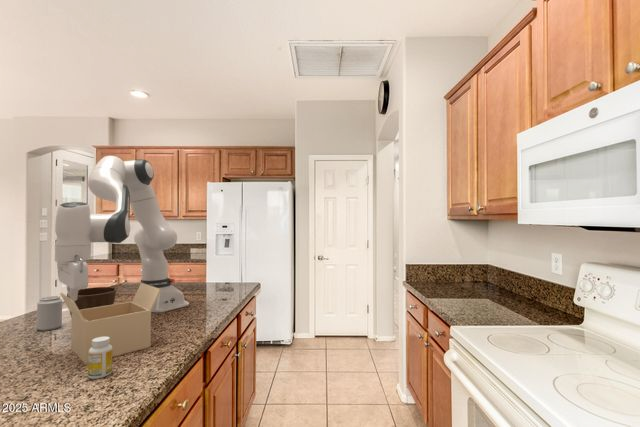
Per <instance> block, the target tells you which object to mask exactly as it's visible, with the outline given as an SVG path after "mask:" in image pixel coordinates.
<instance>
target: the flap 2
mask: <svg viewBox="0 0 640 427" xmlns="http://www.w3.org/2000/svg"><path fill="white" fill-rule="evenodd" d="M140 283H141V282H140ZM160 291H161V289H159V288H156V287H153V286H150V285H147V284H144V283H141V284H139V287H138V289H137V291H136V292H135V295H134V297H133V298H132V302H134V303H136V304H140V305H142V306H144V307H146V308H149V309H151V310H152V308H153V306H154V304H155V302H156V300H157V297H158V295H159V293H160Z"/></svg>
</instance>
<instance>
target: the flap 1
mask: <svg viewBox="0 0 640 427" xmlns="http://www.w3.org/2000/svg"><path fill="white" fill-rule="evenodd" d="M59 294H60V297H62V298H61V299H62V301H63V302H64V303H65V305H66V307H67V309H68V310H69V313H70V312H71V313H73V314H74V315H75V316H76V317H78V318H79V319H80V320H81V321H83V322H85V320H84V318H83V316H82V314H81V312H80V311H79V309H78V307H77V305H76V304H75V302H74V301H73V300H72V299H70V298H69V297H67V294H64V292H62V291H61V292H59Z"/></svg>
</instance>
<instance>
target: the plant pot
mask: <svg viewBox="0 0 640 427" xmlns="http://www.w3.org/2000/svg"><path fill="white" fill-rule="evenodd" d="M116 293H117V288H116V287H111V286H110V287H109V286H97V287H96V286H95V287H87V288H83V289H79V291H78V294H77V300H76V301H74V302H75V304H76V305H77V307H78V309H79V310H82V309H88V308H94V307H100V306H106V305H113V304H115V299H116ZM66 296H67V297H68V292H67V293H66ZM69 314H70V318H71V319H72V313H71V312H70V311H69Z"/></svg>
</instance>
